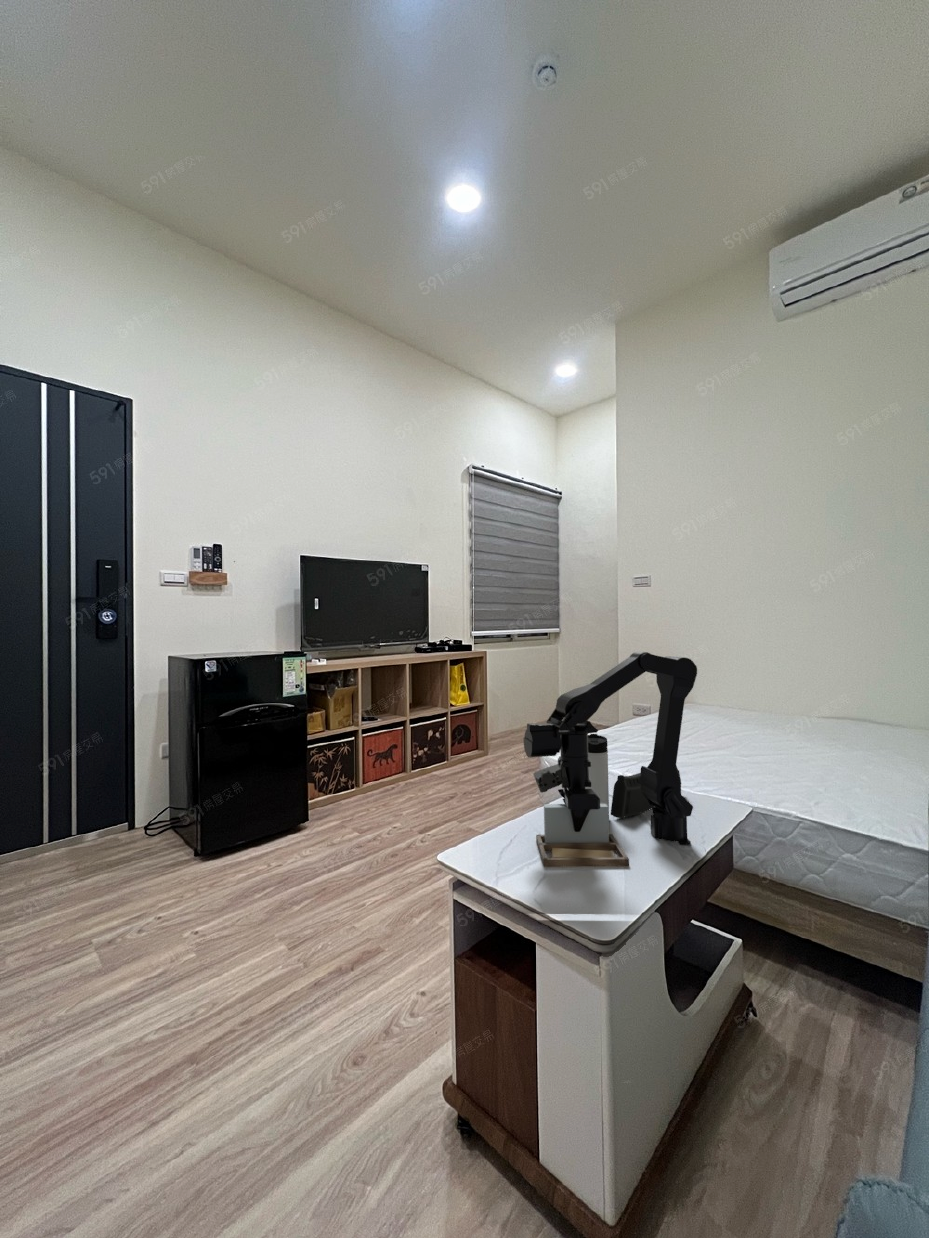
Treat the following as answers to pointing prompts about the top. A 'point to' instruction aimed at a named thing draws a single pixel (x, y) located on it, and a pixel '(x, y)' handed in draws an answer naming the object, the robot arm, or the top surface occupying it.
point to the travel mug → (599, 767)
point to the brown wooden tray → (582, 862)
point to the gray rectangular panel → (562, 828)
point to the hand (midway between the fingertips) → (576, 829)
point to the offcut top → (580, 853)
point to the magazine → (629, 797)
